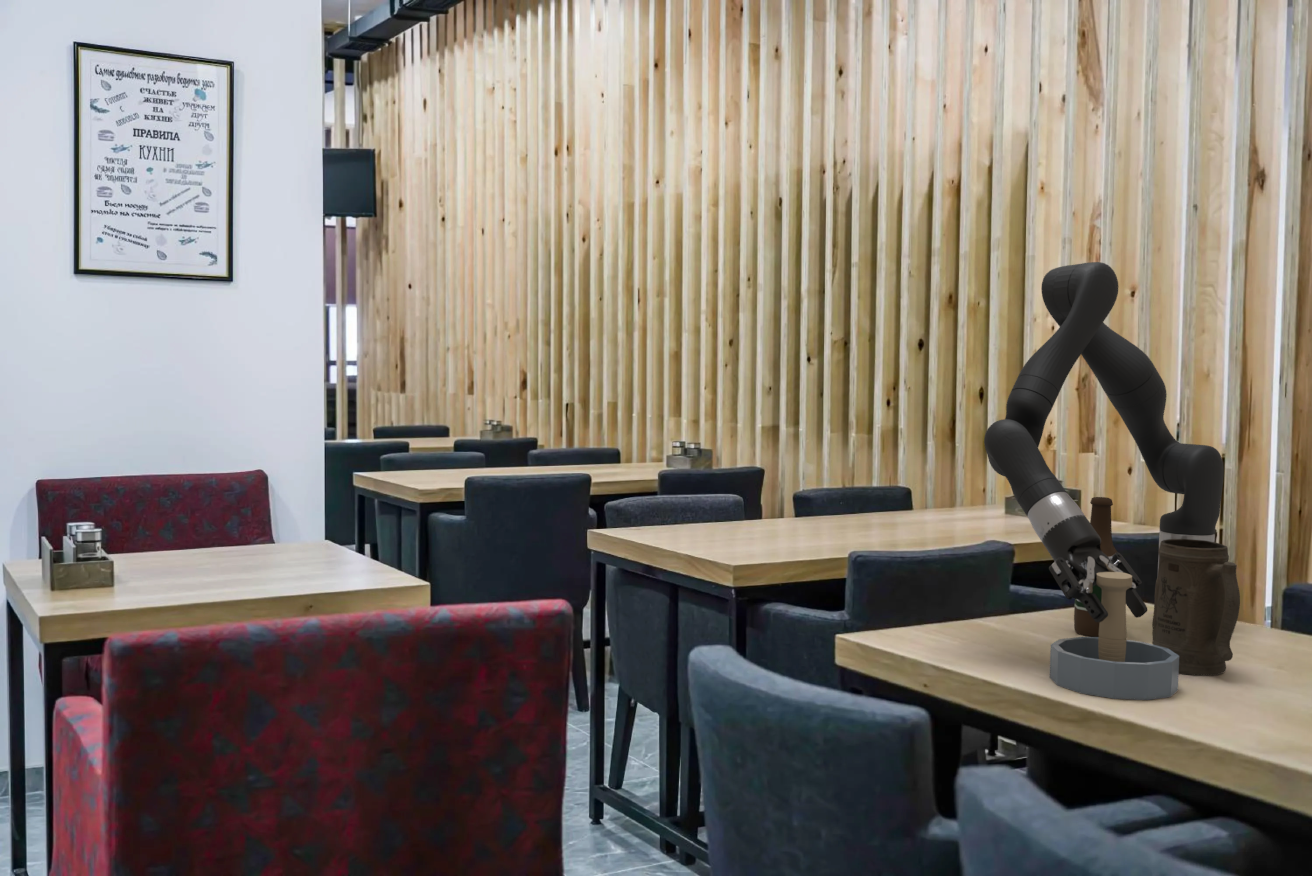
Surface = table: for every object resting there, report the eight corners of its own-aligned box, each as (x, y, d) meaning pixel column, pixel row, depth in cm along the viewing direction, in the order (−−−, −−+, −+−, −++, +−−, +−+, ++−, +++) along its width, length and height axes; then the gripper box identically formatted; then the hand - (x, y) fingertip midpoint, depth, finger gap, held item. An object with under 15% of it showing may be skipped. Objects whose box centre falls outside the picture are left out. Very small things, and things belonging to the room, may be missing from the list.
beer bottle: (1124, 632, 210) (1129, 497, 209) (1114, 640, 204) (1120, 501, 202) (1078, 626, 214) (1083, 494, 213) (1068, 634, 208) (1073, 497, 206)
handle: (1127, 672, 177) (1130, 572, 176) (1130, 683, 171) (1133, 579, 170) (1093, 669, 178) (1095, 570, 178) (1094, 680, 172) (1097, 577, 172)
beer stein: (1131, 660, 189) (1143, 537, 186) (1181, 655, 193) (1193, 534, 191) (1210, 691, 175) (1224, 558, 172) (1263, 685, 179) (1277, 555, 177)
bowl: (1111, 665, 186) (1112, 633, 185) (1202, 692, 170) (1203, 658, 170) (1026, 675, 179) (1028, 642, 178) (1113, 704, 163) (1115, 668, 163)
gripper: (1044, 515, 176) (1105, 606, 167) (1109, 511, 183) (1171, 598, 174) (1016, 546, 181) (1073, 635, 172) (1080, 541, 188) (1139, 627, 179)
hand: (1123, 616), depth 173 cm, fingers open, 8 cm apart
